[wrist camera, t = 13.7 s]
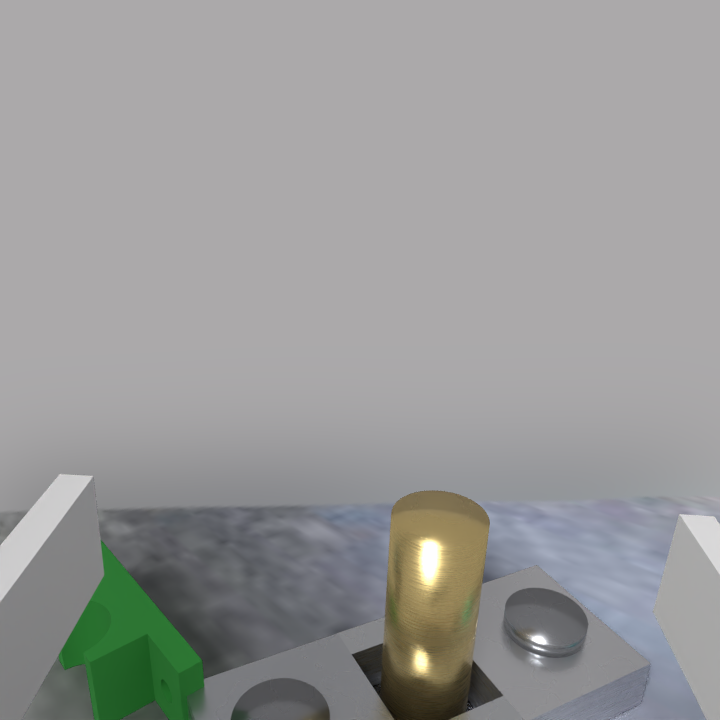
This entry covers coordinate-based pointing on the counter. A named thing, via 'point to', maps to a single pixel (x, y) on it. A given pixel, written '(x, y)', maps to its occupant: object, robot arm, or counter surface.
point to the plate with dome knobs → (488, 675)
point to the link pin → (432, 604)
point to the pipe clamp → (131, 650)
